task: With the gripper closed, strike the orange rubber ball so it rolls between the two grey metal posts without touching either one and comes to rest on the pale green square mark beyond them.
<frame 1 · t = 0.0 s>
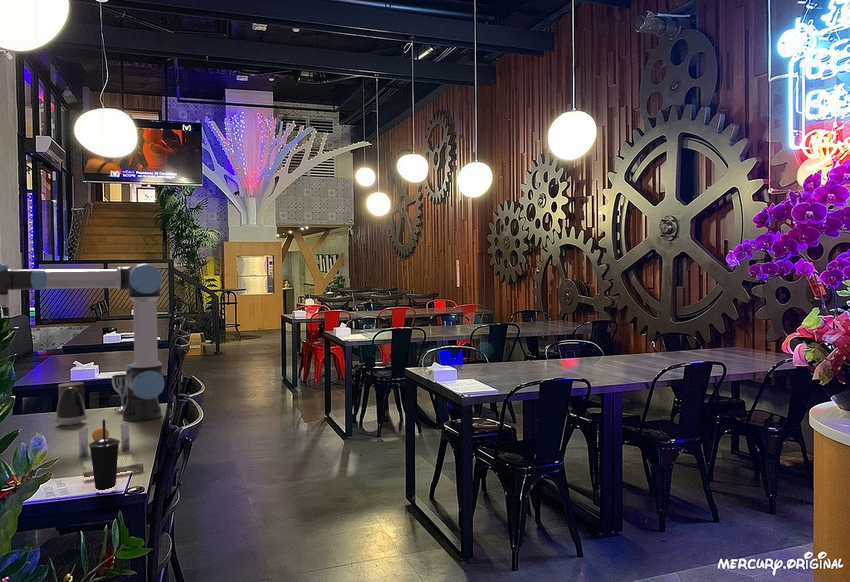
drinking cup: (105, 492, 171), on the table
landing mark: (109, 463, 197), on the table
stopper wall: (114, 475, 185), on the table
black tapered dome: (71, 424, 250), on the table
post 1: (83, 456, 205), on the table
ball: (100, 434, 222), on the table
post 2: (125, 449, 212), on the table
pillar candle: (71, 415, 266), on the table
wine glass: (122, 409, 278), on the table
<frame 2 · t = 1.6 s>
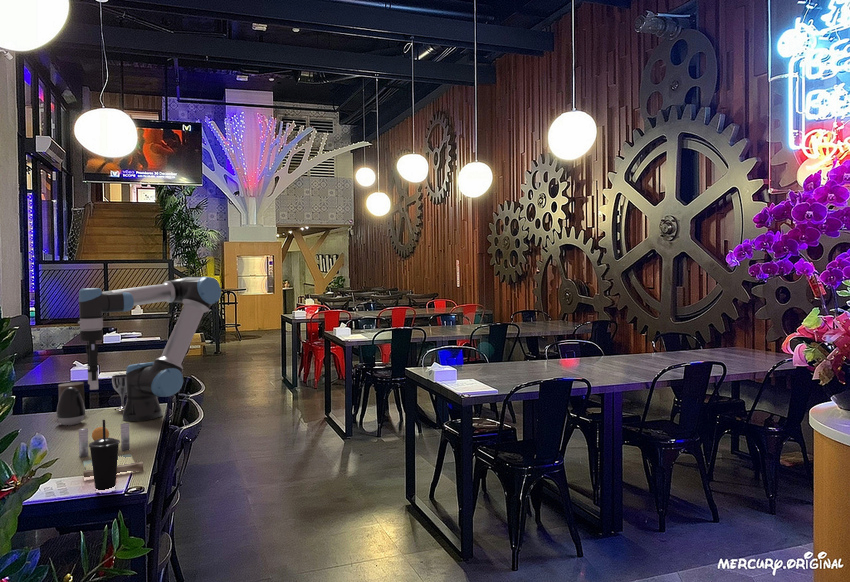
hand: (93, 386, 230), 19 cm above the table, tool pointing down, fingers open, 13 cm apart
nothing on the table moved.
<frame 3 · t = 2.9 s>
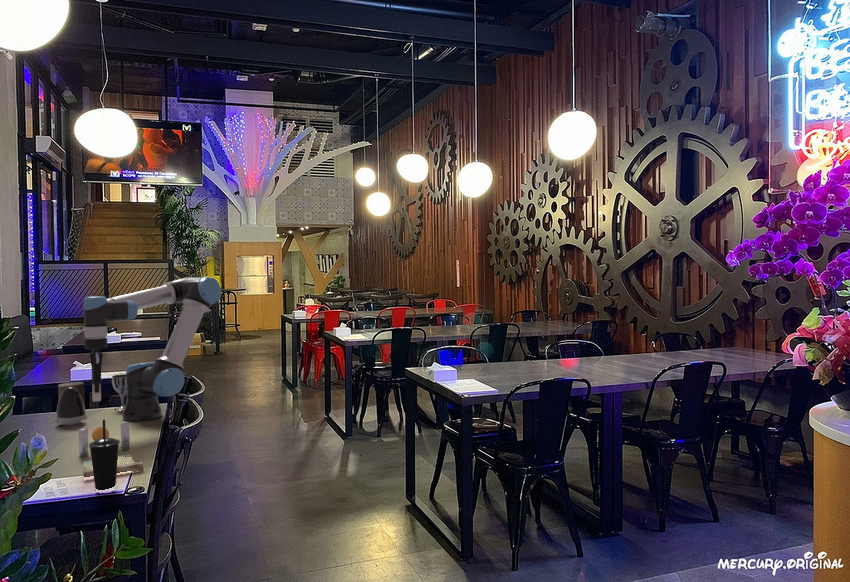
hand: (96, 400, 230), 13 cm above the table, tool pointing down, fingers closed
nothing on the table moved.
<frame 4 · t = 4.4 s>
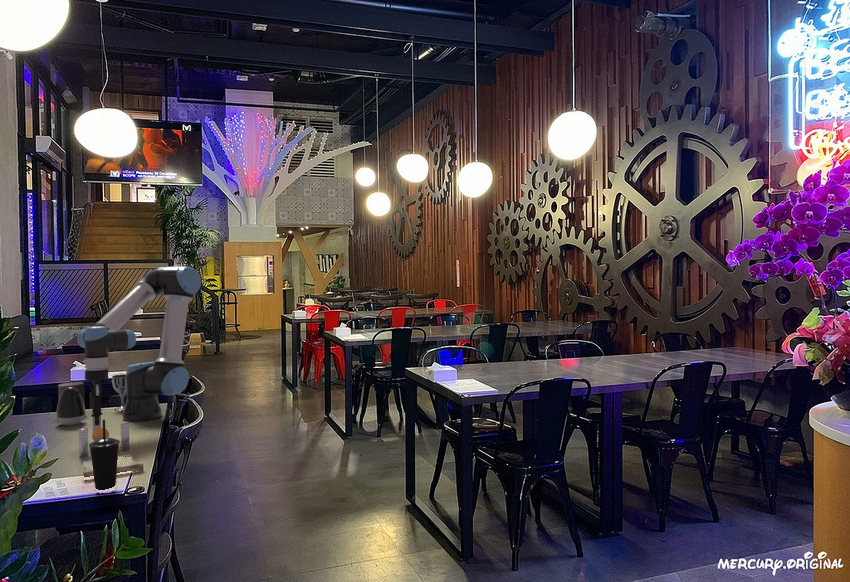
hand: (96, 433, 224), 3 cm above the table, tool pointing down, fingers closed
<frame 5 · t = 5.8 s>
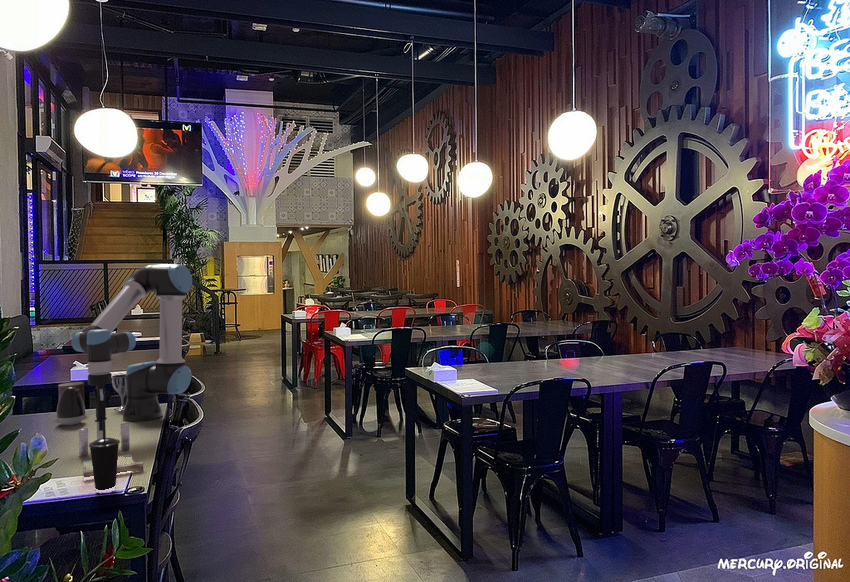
hand: (101, 438, 220), 2 cm above the table, tool pointing down, fingers closed
ball: (104, 449, 203), on the table
everything else where it was.
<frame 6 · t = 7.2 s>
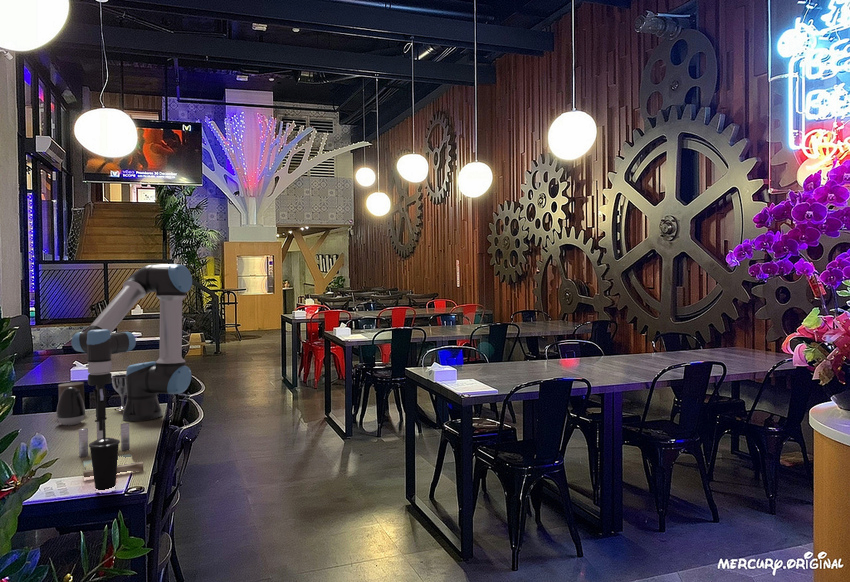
hand: (101, 438, 220), 2 cm above the table, tool pointing down, fingers closed
ball: (105, 454, 198), on the table
everything else where it was.
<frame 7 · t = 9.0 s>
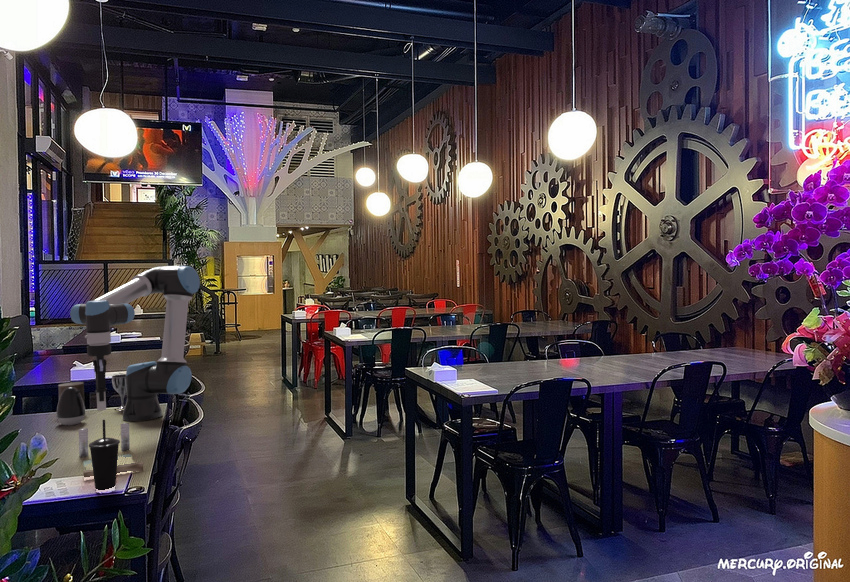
hand: (101, 409, 220), 12 cm above the table, tool pointing down, fingers closed
nothing on the table moved.
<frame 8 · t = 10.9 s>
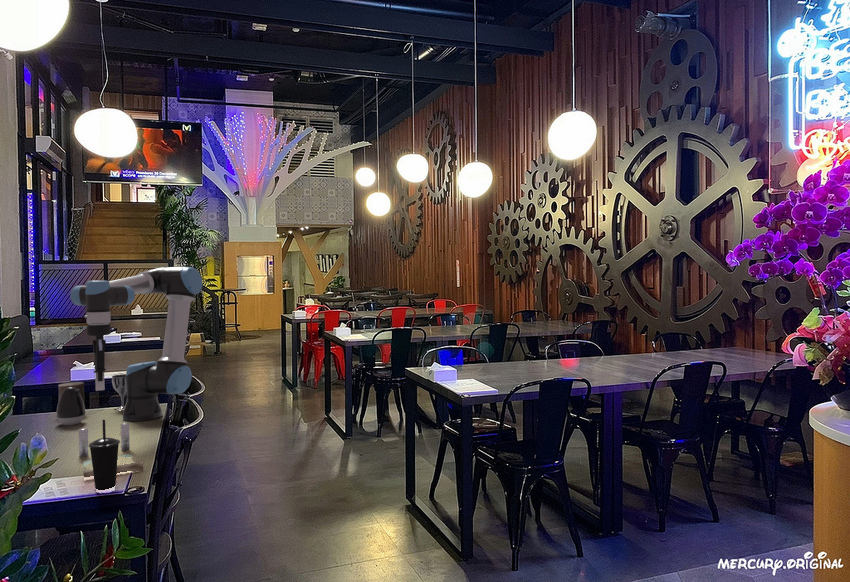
hand: (100, 390, 219), 19 cm above the table, tool pointing down, fingers closed
nothing on the table moved.
at the end: ball 1.7 cm from the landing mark (horizontally); ball never touched post 2; ball never touched post 1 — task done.
